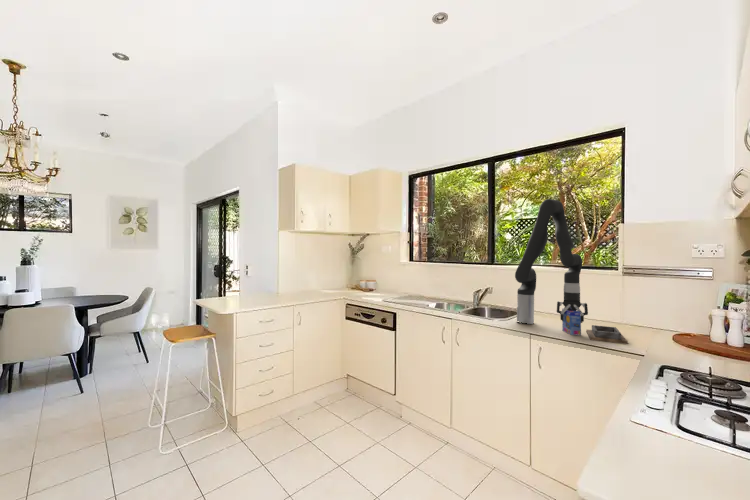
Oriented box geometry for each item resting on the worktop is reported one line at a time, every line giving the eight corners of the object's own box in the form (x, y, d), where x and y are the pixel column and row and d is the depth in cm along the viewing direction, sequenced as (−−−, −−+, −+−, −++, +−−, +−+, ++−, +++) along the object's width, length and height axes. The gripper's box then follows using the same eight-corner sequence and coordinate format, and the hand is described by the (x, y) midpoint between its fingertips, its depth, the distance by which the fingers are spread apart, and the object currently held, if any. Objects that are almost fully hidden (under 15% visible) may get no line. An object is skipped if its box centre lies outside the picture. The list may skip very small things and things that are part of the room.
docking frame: (590, 339, 165) (590, 331, 165) (586, 331, 181) (586, 323, 181) (627, 343, 158) (627, 335, 158) (620, 335, 174) (620, 327, 174)
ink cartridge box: (561, 330, 183) (561, 304, 183) (572, 330, 183) (572, 304, 183) (570, 335, 174) (570, 307, 173) (581, 335, 173) (581, 307, 173)
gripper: (556, 291, 178) (556, 322, 178) (588, 292, 171) (588, 324, 171) (556, 290, 185) (556, 319, 185) (586, 291, 178) (586, 321, 178)
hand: (571, 321), depth 178 cm, fingers open, 8 cm apart
